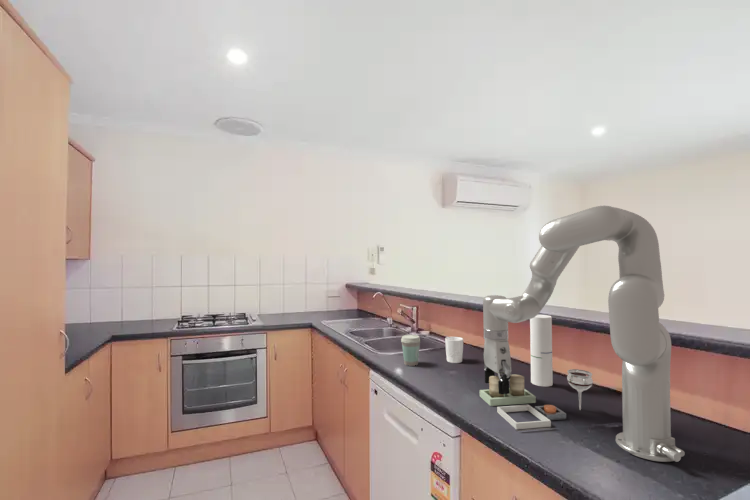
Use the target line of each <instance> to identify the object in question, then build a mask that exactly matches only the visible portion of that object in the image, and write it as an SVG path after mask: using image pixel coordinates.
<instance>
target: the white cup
mask: <svg viewBox="0 0 750 500" xmlns="http://www.w3.org/2000/svg"><path fill="white" fill-rule="evenodd" d="M444 344H445V355H446V361H447V363H451V364H460V363H462V362H463V355H464V354H463V351H464V338H463V337H460V336H459V337H458V336H447V337H445V338H444Z"/></svg>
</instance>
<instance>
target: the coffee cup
mask: <svg viewBox="0 0 750 500" xmlns="http://www.w3.org/2000/svg"><path fill="white" fill-rule="evenodd" d="M400 342H401V348H402V355H403V363H404V366H407V365H409V366H408V367H415V365H416V366H418V364H419V354H420V343H421V339H420V336H419V335H417V334H404V335H402V336H401V339H400Z"/></svg>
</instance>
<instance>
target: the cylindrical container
mask: <svg viewBox="0 0 750 500" xmlns="http://www.w3.org/2000/svg"><path fill="white" fill-rule="evenodd" d="M552 327H553V319H552V316H551V315H549V314H538V315H537V316H535V317H534V318H532V319H529V328H530V329H529V330H530V332H529V333H530V335H529V340H530V341H529V343H530V344H529V345H530V350H529V351H530V383H531V384H532V385H535V386H538V387H544V388H545V387H552V386H553V382H554V380H553V373H554V372H553V328H552Z"/></svg>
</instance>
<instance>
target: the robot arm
mask: <svg viewBox="0 0 750 500" xmlns="http://www.w3.org/2000/svg"><path fill="white" fill-rule="evenodd" d="M538 233H539V234H538V240H539V243H540V247H539V249H538V250H537V252H536V253H535V254H534V257H533V258H532V259H531V261H530V263H529V269H530V271H531V278H530V281H529V283H528V285H527V287H526V288H525V290H524V292H523V293H522V294H521V295H517V296H515V297H506V296H503V295H496V294H493V295H492V294H491V295H485V296H484V297H483V300H482V307H483V308H482V309H483V310H482V311H483V313H482V315H483V316H482V317H483V321H482V322H483V340H484V345H483V355H482V357H483V365H484V367H483V369H484V383H485V384H489V377H490V376H496V375H495V373H496V374H497V376H499V379H500V381H498V387H499V394H509V388H510V377H511V376H510V375H512V359H511V351H510V344H509V323H512V324H517V323H522V322H525V321H528V320H530V319H532V318H534V317H535V316H537V315H540V312H541V311H542V310H543V308H544V307H545V305H546V304H547V302H548V301H549V300H550V298H551V297H552V295H553V292H554V290H555V287H556V285H557V281H558V279H559V277H560V276H561V274H562V273H563V272H564V270H565V269H566V268H567V265H568V264H569V262H570V261H571V260H572V258H573V257H574V255H575V254H576V252H577V251H578V249H580V247H581V246H585V245H589V244H594V243H599V242H601V241H609V242H610V241H612V242H615V243H616V244H617V246H618V254H617V255H618V257H617V259H618V268H619V269H618V270H619V271H618V273H619V278H618V279H617V280H616V281H615V282H614V283H613V284H612V285H611V286H610V289H609V292H608V298H607V299H608V301H607V302H608V318H609V333H610V343H611V346H612V348H613V351H614V353H615V354H616V355H617V357H618V358H620V359H621V360H622V364H621V386H622V388H621V390H622V391H621V398H622V402H621V403H622V432H619V433H617V434H616V435H615V443H616V444H617V445H618V446H619V447H620V448H622V449H623V450H624V451H626V452H627V453H628V452H629V454H631V455H632V456H635V457H638V458H641V459H643V460H648V461H652V462H660V463H670V462H676V463H677V462H679V461H681V459H682V457H684V456H685V453H686V452H685V451H684V450H683V449H681V448H679V447H677V446H676V438H675V437H672V433H671V432H672V431H671V429H672V428H671V427H672V423H671V418H672V417H671V358H672V339H671V335H670V333H669V331H668V329H667V328H666V326H664V325H663V324H662V323H661V322H660V316H659V315H660V312H659V308H660V307H661V306H662V305H663V303H664V301H665V289H664V284H663V275H662V274H663V272H662V263H661V262H662V261H661V255H660V245H659V240H658V236H657V233H656V230H655V228H654V227H653V226H652V224H651V222H649V221H648V220H647V219H645V217H643V216H642V215H639V214H637V213H635V212H633V211H629V210H626V209H622V208H619V207H614V206H612V205H611V206H610V205H597V206H593V207H589V208H587V209H583V210H581V211H577V212H574V213H571V214H568V215H565V216H561V217H559V218H556V219H553V220H550V221H548V222H547V223H546V222H545V224H544V225H542V227H541V229H540V231H539V232H538Z"/></svg>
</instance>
